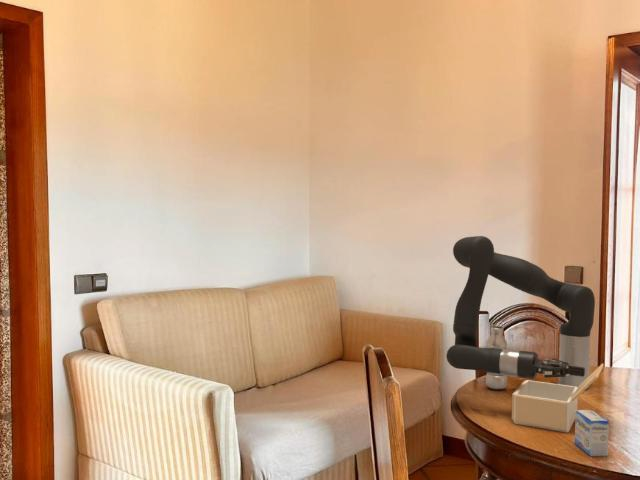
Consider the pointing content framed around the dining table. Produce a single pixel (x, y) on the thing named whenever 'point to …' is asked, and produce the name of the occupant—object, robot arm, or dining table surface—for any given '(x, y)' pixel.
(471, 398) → the dining table surface
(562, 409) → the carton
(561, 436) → the dining table surface
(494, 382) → the plastic bottle
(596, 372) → the flap
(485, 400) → the dining table surface
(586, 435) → the medicine box
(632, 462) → the dining table surface
